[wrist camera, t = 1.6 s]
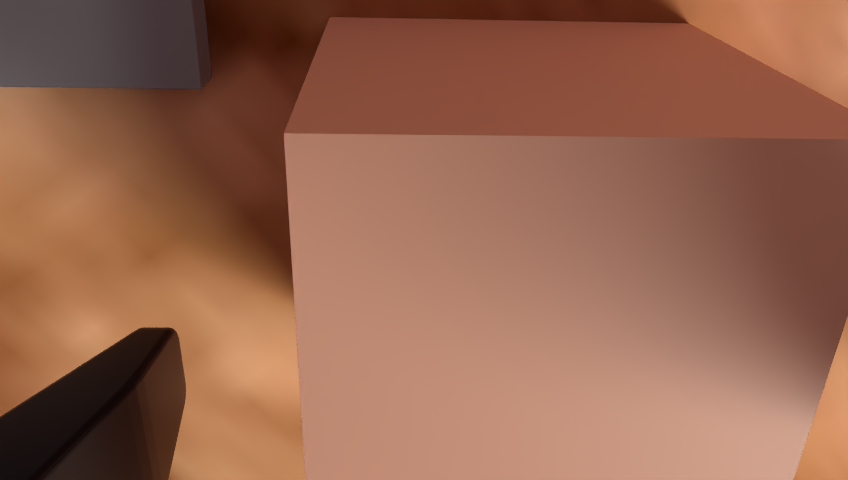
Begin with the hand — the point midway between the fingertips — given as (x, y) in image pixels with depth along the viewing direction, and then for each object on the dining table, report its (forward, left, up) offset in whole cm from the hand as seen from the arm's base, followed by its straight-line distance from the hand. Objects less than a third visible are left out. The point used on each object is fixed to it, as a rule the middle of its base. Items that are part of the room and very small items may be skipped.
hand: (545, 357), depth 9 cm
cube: (0, 0, -5) cm, 5 cm away
